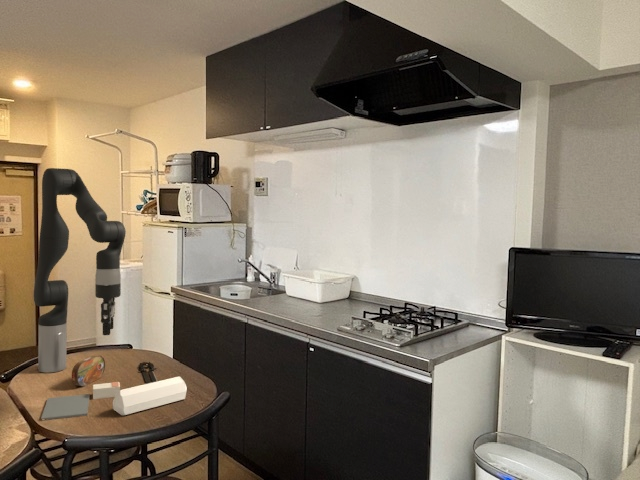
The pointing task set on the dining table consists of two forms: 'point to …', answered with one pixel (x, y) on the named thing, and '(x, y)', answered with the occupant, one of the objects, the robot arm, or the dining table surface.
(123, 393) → the crystal
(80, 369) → the tin
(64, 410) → the mat
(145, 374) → the knife
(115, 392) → the card box
